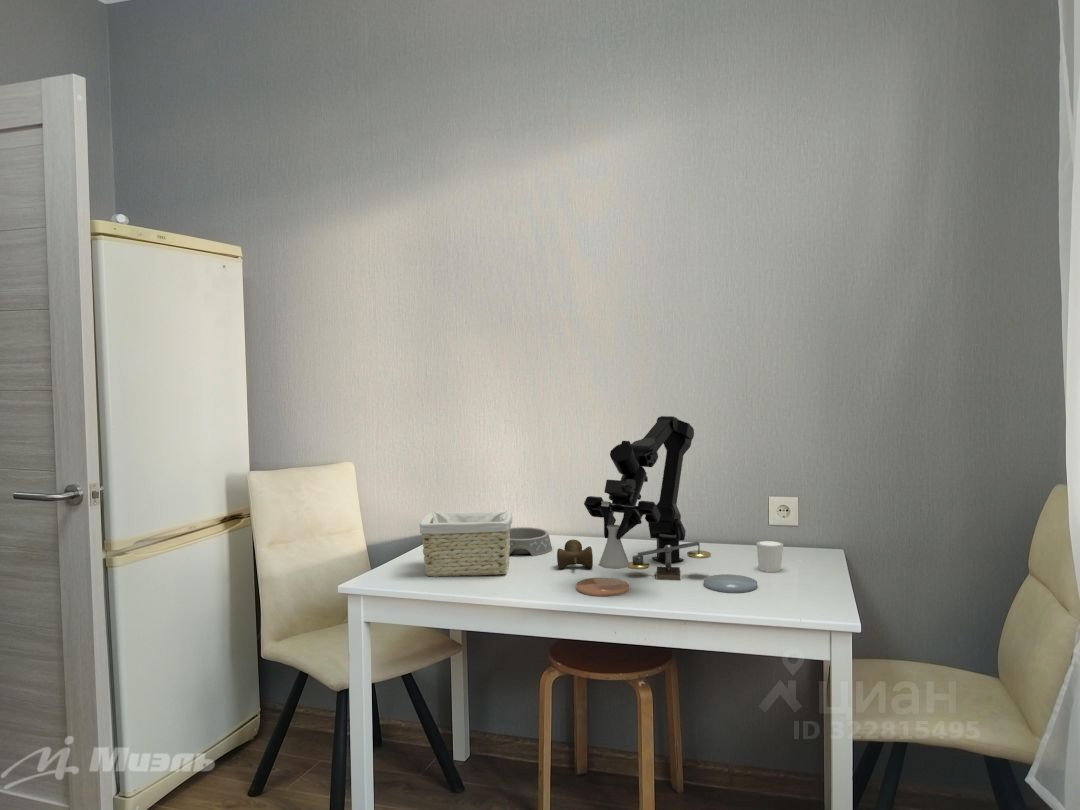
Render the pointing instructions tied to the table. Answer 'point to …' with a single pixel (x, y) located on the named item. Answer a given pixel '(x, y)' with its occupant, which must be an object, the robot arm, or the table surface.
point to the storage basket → (466, 543)
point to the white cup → (769, 555)
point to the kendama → (574, 555)
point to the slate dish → (730, 583)
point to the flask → (613, 551)
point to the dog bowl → (529, 541)
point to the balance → (667, 560)
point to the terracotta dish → (602, 586)
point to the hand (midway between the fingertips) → (611, 538)
